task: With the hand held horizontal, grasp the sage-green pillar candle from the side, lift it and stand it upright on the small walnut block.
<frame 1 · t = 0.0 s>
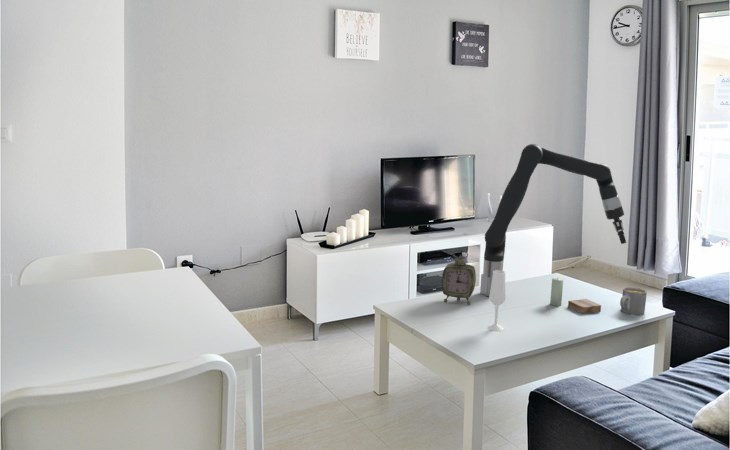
hand: (623, 241, 298), 31 cm above the table, tool tilted 20°, fingers open, 8 cm apart
walnut block: (584, 309, 302), on the table
tabletop clock: (457, 302, 307), on the table
coffee mug: (629, 312, 300), on the table
candle: (555, 304, 308), on the table
champagne flute: (495, 328, 274), on the table
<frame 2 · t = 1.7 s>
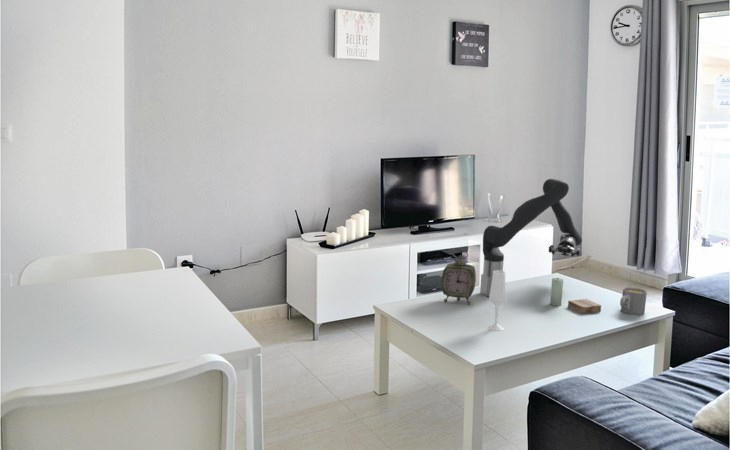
hand: (562, 253, 313), 22 cm above the table, tool horizontal, fingers open, 8 cm apart
nothing on the table moved.
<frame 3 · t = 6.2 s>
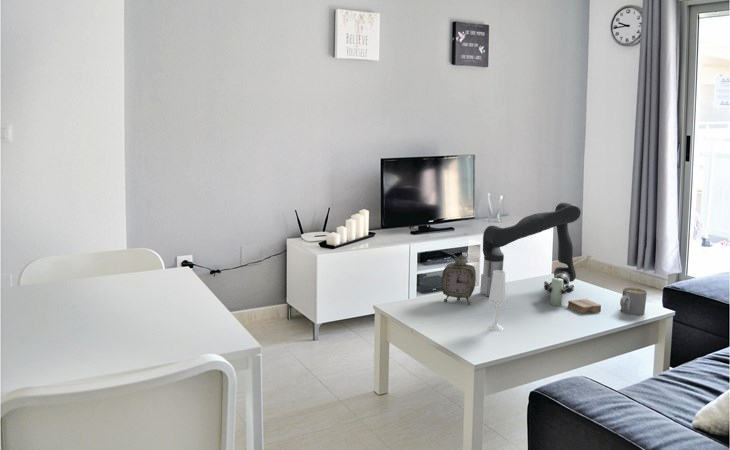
hand: (556, 291, 304), 7 cm above the table, tool horizontal, fingers closed on candle, 5 cm apart
candle: (555, 304, 308), on the table, touching gripper
everything else where it was.
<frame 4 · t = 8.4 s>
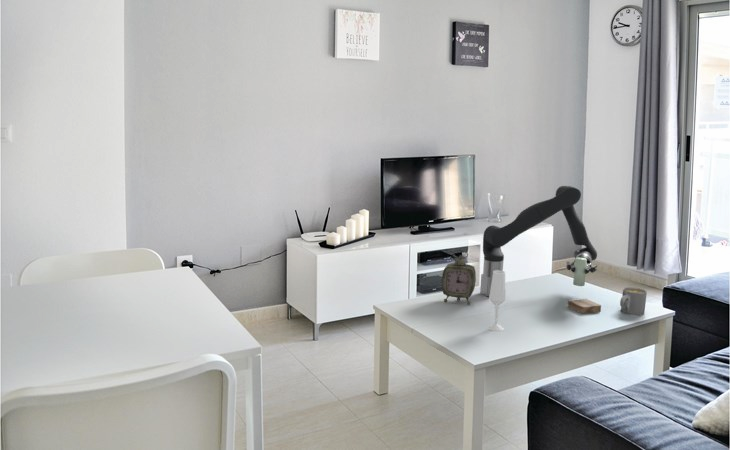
hand: (579, 270, 298), 18 cm above the table, tool horizontal, fingers closed on candle, 5 cm apart
candle: (578, 284, 302), point 11 cm above the table, touching gripper
everything else where it was.
when the fingers open (11 cm above the table, at t = 10.3 s): candle drops 1 cm, resting on walnut block.
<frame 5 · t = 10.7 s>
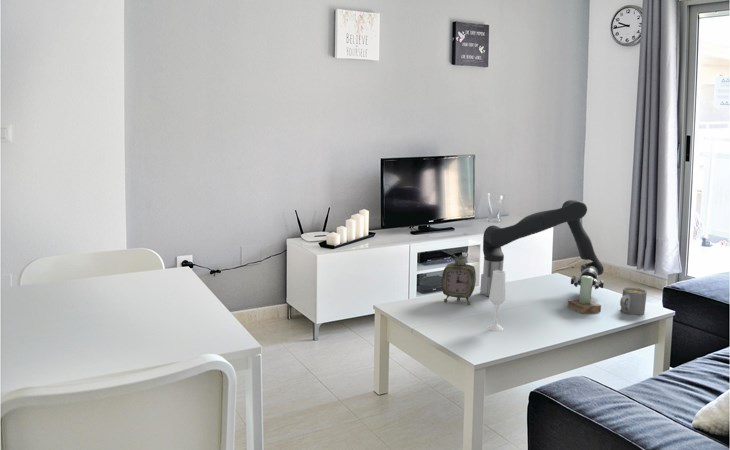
hand: (586, 286, 298), 12 cm above the table, tool horizontal, fingers open, 8 cm apart
candle: (584, 302, 301), point 3 cm above the table, touching walnut block
everything else where it was.
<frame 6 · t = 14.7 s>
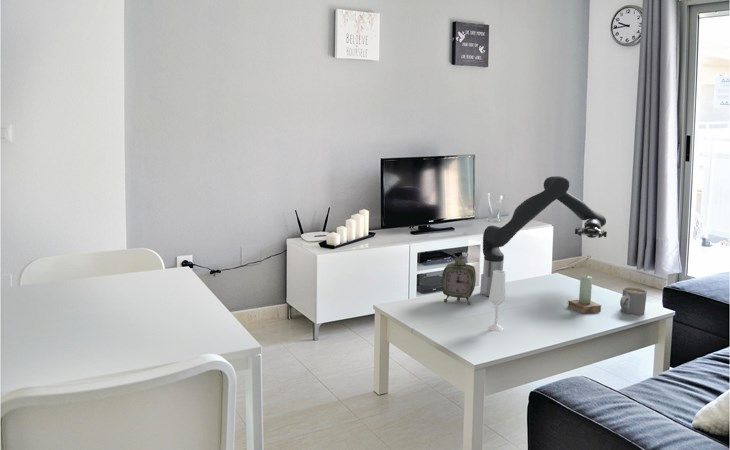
hand: (589, 234, 308), 32 cm above the table, tool horizontal, fingers open, 8 cm apart
nothing on the table moved.
at the end: candle inside the target area on the walnut block (0.1 cm from its centre), point 3.1 cm above the walnut block's base; candle tilted 1°; the gripper is holding nothing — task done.
